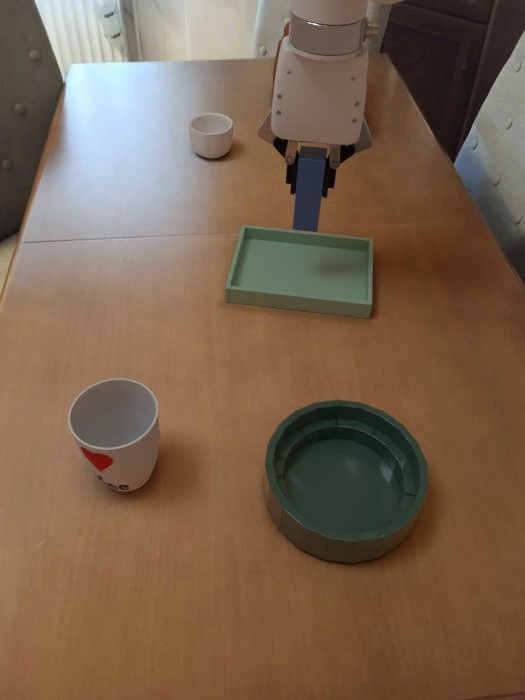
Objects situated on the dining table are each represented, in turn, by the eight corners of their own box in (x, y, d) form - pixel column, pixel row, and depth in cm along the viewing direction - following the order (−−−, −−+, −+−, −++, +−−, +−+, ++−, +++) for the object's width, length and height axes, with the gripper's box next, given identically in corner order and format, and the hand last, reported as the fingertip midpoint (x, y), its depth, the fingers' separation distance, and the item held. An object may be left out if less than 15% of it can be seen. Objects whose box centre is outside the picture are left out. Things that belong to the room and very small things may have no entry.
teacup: (233, 164, 104) (233, 134, 100) (188, 163, 103) (186, 134, 99) (233, 135, 110) (233, 107, 106) (192, 135, 110) (190, 106, 106)
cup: (73, 464, 62) (52, 406, 55) (140, 424, 66) (128, 365, 59) (114, 520, 58) (96, 465, 51) (182, 475, 62) (175, 417, 55)
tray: (370, 252, 88) (373, 238, 86) (369, 318, 79) (372, 304, 77) (241, 238, 89) (242, 224, 88) (225, 302, 80) (224, 288, 78)
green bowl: (413, 437, 66) (424, 410, 62) (420, 575, 55) (432, 552, 52) (273, 419, 67) (275, 391, 63) (253, 551, 57) (254, 527, 53)
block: (318, 218, 79) (327, 147, 71) (317, 232, 76) (325, 161, 69) (294, 215, 79) (300, 145, 71) (292, 229, 77) (298, 159, 69)
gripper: (406, 25, 62) (376, 180, 76) (251, 11, 63) (248, 167, 77) (409, 53, 57) (375, 214, 71) (239, 38, 58) (238, 200, 72)
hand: (309, 188), depth 74 cm, fingers closed on block, 3 cm apart
